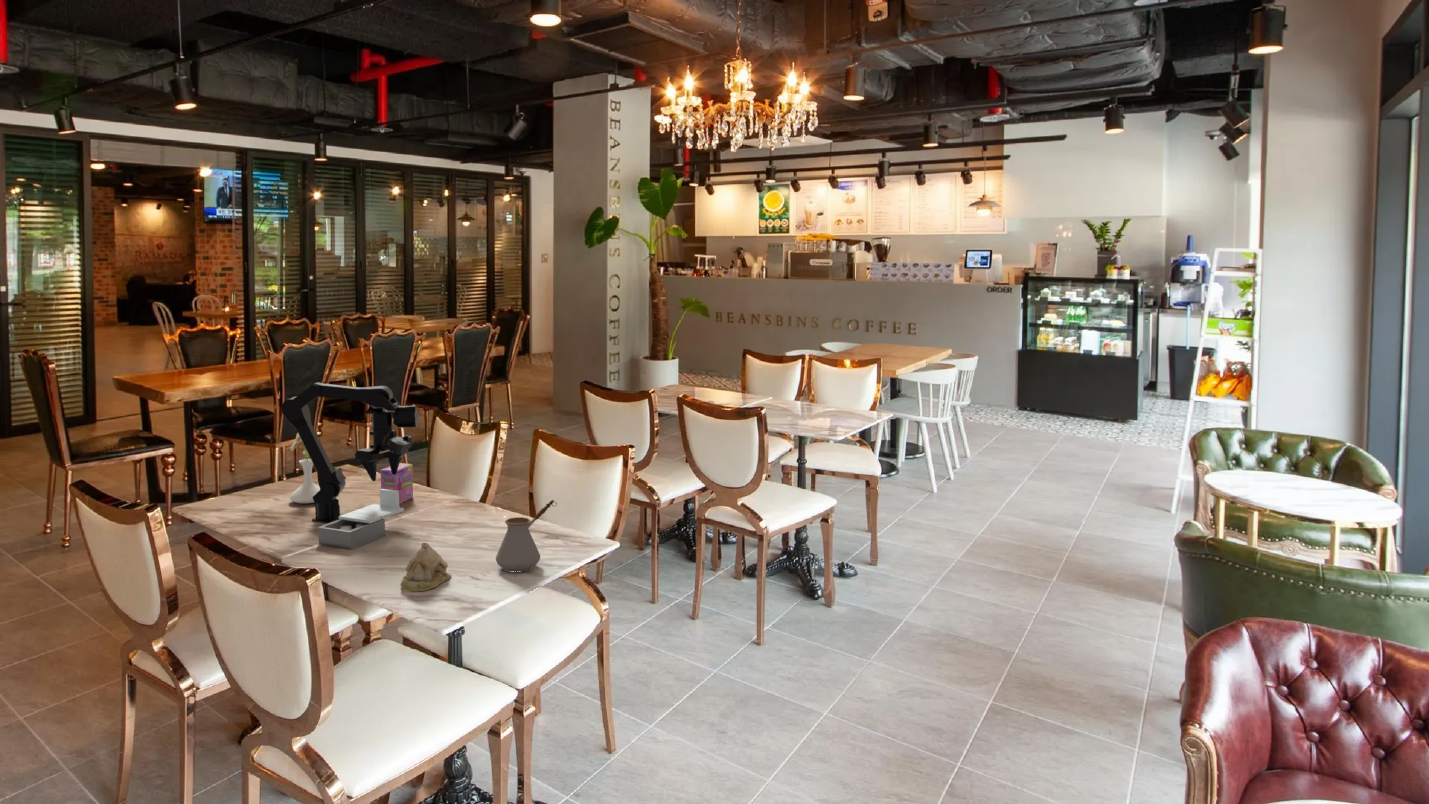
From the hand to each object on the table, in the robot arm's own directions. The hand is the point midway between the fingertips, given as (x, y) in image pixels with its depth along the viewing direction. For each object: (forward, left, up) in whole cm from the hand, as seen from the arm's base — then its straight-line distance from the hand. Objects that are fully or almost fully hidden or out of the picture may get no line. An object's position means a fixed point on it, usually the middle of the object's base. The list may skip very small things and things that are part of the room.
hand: (384, 477), depth 270 cm
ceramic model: (+46, -41, -13) cm, 62 cm away
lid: (+6, -12, -8) cm, 16 cm away
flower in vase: (-35, +5, -13) cm, 38 cm away
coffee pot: (+62, -18, -13) cm, 66 cm away
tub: (+6, -21, -13) cm, 25 cm away
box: (-10, +18, -13) cm, 25 cm away
